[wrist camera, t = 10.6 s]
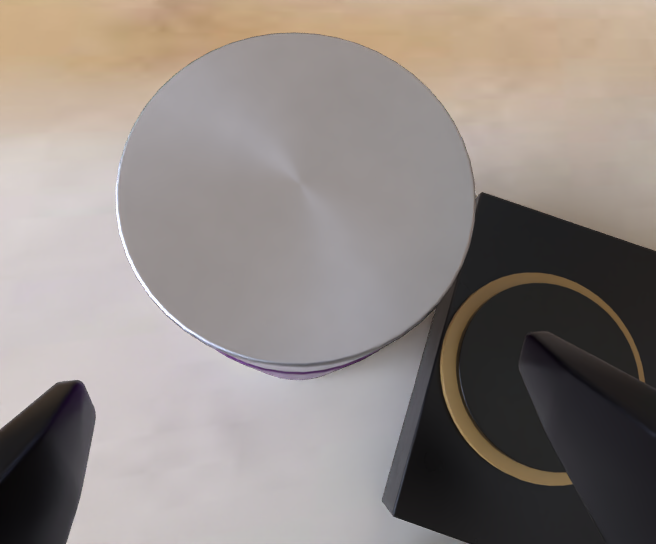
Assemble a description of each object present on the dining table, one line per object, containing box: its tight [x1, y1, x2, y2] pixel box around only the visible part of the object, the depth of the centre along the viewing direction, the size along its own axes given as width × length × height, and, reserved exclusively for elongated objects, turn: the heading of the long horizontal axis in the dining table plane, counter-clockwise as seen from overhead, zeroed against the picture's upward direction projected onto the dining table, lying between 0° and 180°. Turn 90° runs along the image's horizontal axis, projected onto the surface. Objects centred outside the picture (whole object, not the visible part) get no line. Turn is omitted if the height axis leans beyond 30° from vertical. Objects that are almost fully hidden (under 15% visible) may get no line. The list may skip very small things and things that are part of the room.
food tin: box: [116, 33, 476, 380], centre depth 14 cm, size 6×6×12 cm
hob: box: [382, 192, 656, 544], centre depth 18 cm, size 13×17×3 cm
